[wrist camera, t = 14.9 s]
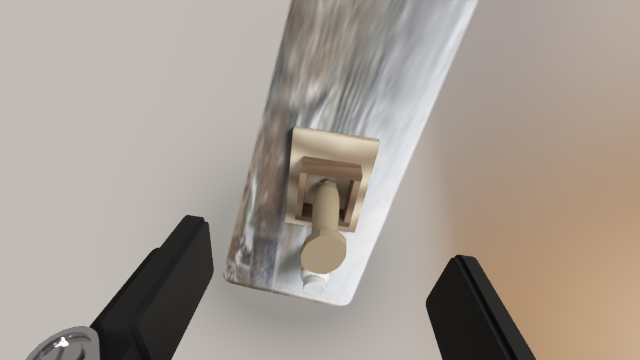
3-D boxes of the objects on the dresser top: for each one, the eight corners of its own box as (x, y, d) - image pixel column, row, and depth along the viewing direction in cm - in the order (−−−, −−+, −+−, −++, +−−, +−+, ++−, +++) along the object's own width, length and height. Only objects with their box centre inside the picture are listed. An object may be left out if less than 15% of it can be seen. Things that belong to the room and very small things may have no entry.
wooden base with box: (294, 126, 39) (289, 138, 35) (378, 139, 39) (383, 153, 35) (286, 216, 48) (281, 235, 44) (354, 227, 49) (355, 246, 44)
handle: (306, 195, 44) (293, 266, 31) (322, 164, 40) (314, 230, 28) (332, 205, 44) (330, 278, 32) (349, 176, 41) (354, 245, 28)
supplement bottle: (305, 257, 54) (300, 299, 46) (303, 238, 51) (296, 279, 43) (331, 257, 53) (330, 299, 45) (330, 238, 50) (328, 279, 42)
